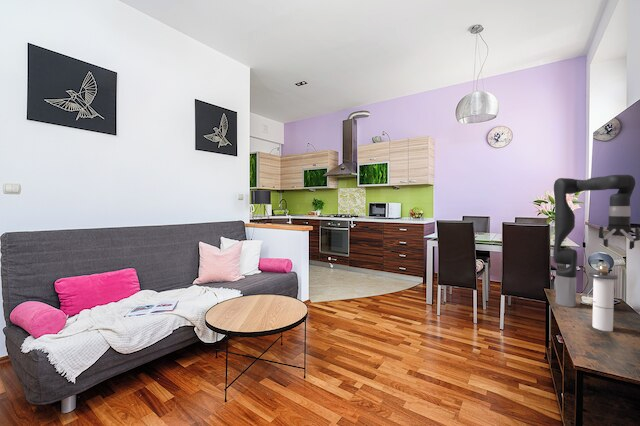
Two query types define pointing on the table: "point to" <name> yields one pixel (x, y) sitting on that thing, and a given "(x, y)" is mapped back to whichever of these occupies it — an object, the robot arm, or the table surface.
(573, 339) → the table surface
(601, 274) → the lid
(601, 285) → the cylindrical container
